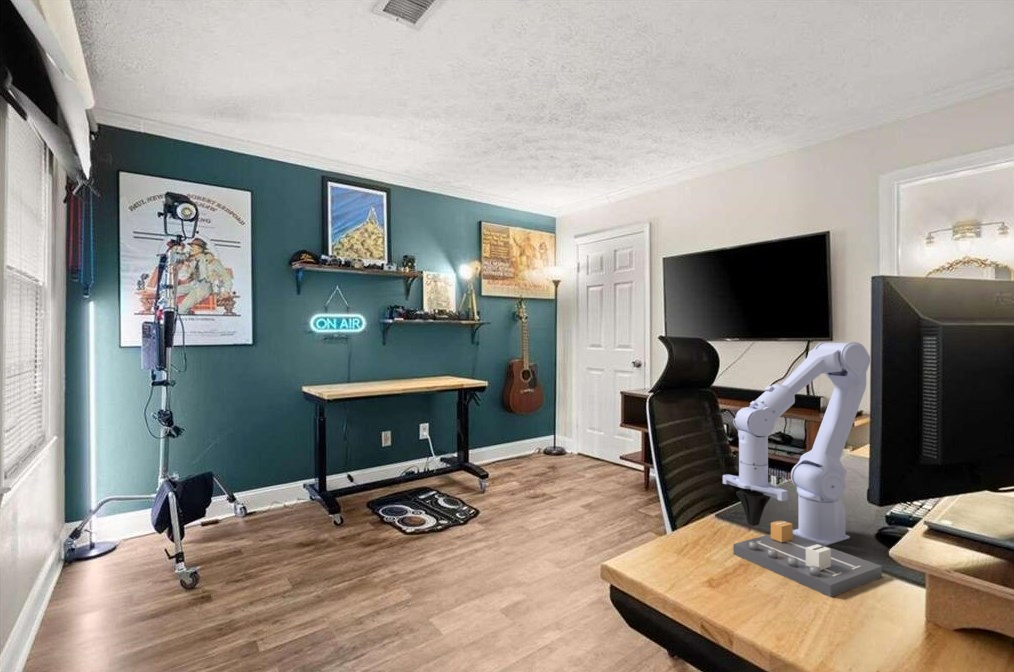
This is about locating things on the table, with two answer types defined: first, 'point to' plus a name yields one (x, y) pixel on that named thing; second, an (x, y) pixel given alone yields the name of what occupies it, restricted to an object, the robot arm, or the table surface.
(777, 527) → the fader
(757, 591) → the table surface
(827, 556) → the fader
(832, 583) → the mixer board
